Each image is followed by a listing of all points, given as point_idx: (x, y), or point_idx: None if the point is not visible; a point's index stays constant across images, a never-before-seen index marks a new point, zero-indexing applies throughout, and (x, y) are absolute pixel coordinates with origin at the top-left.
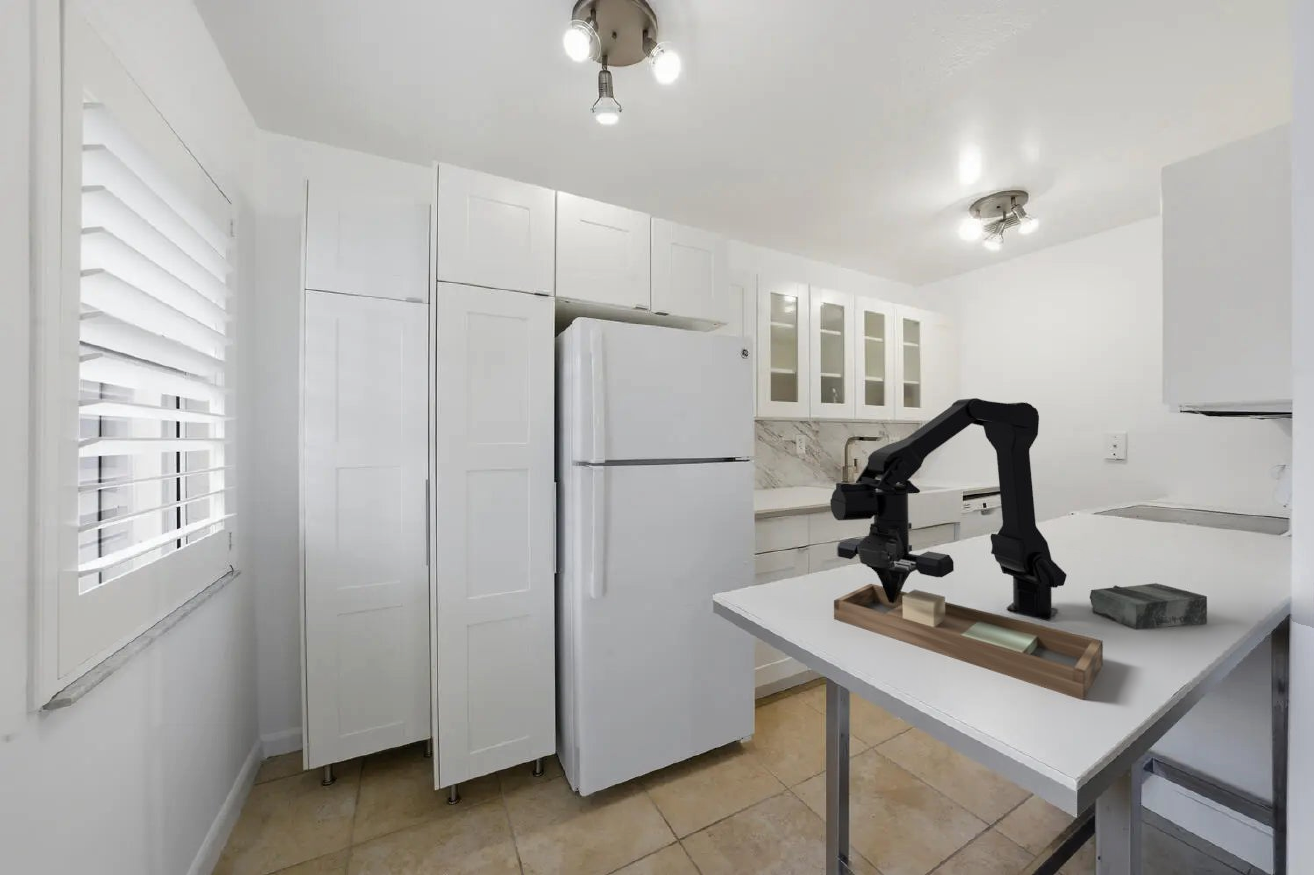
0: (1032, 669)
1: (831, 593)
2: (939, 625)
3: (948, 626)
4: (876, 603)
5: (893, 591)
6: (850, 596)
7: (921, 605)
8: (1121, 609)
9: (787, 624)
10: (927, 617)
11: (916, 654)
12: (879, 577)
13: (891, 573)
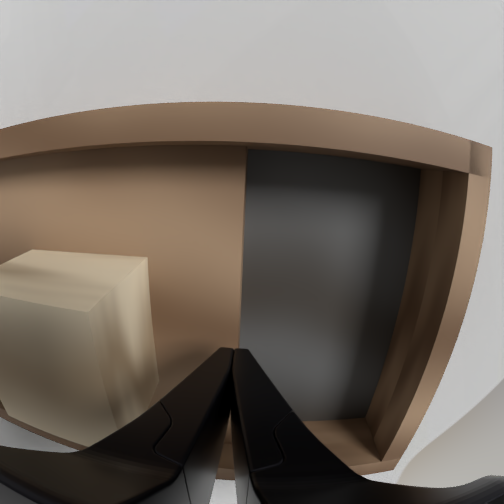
0: None
1: (487, 379)
2: None
3: None
4: (349, 409)
5: (196, 383)
6: (452, 278)
7: (12, 283)
8: None
9: (491, 16)
10: (26, 261)
11: (60, 68)
12: (321, 449)
13: (118, 485)
